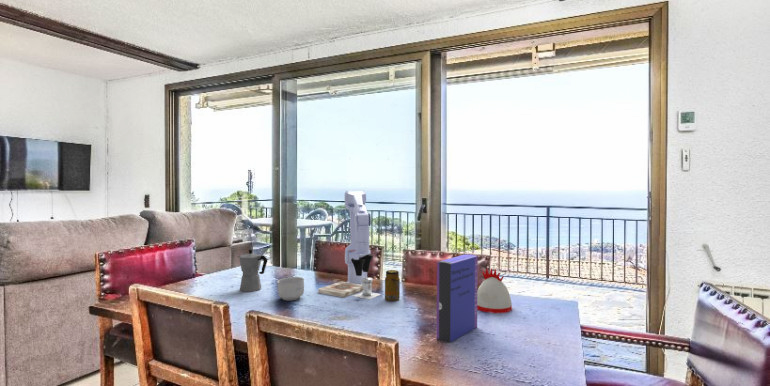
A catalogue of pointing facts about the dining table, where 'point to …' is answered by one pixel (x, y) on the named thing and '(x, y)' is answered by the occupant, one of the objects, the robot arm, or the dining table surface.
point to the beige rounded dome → (493, 294)
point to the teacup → (290, 288)
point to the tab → (367, 296)
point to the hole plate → (344, 292)
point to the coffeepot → (251, 271)
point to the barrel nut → (366, 286)
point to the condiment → (392, 285)
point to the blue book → (456, 297)
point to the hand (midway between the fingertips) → (362, 273)
